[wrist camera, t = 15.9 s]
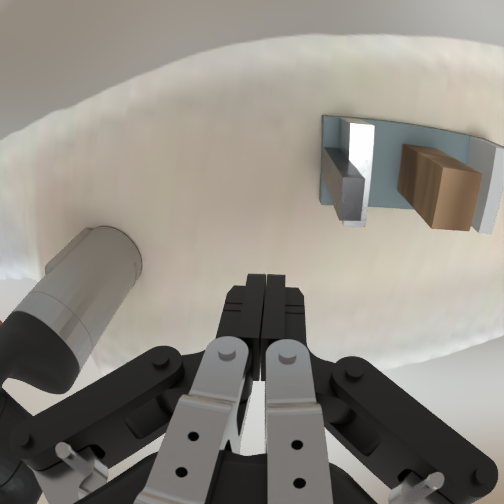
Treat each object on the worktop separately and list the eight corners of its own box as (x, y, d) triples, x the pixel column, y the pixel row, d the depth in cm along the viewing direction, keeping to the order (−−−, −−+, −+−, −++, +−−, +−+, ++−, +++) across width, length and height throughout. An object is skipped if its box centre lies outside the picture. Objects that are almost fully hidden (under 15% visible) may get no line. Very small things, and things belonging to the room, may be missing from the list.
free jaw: (321, 205, 30) (335, 258, 21) (324, 116, 26) (345, 131, 17) (354, 206, 30) (380, 259, 21) (360, 119, 25) (397, 136, 17)
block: (396, 190, 29) (431, 228, 21) (402, 143, 26) (442, 167, 18) (429, 193, 28) (469, 231, 21) (435, 148, 26) (482, 174, 18)
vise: (319, 199, 32) (326, 225, 26) (322, 115, 27) (332, 122, 22) (473, 210, 30) (500, 234, 24) (485, 139, 25) (518, 153, 20)
